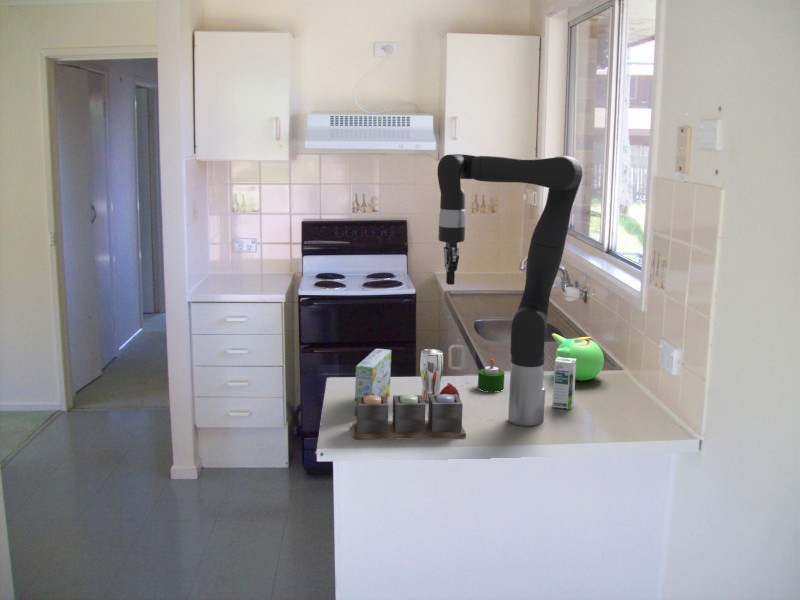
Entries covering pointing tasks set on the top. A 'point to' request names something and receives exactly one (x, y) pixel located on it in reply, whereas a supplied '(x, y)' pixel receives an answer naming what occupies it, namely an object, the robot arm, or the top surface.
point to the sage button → (408, 399)
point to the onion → (449, 390)
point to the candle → (491, 378)
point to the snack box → (373, 375)
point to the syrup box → (564, 383)
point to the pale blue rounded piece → (445, 398)
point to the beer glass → (431, 372)
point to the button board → (409, 419)
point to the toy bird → (581, 355)
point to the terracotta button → (372, 399)
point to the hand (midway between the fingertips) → (450, 284)
